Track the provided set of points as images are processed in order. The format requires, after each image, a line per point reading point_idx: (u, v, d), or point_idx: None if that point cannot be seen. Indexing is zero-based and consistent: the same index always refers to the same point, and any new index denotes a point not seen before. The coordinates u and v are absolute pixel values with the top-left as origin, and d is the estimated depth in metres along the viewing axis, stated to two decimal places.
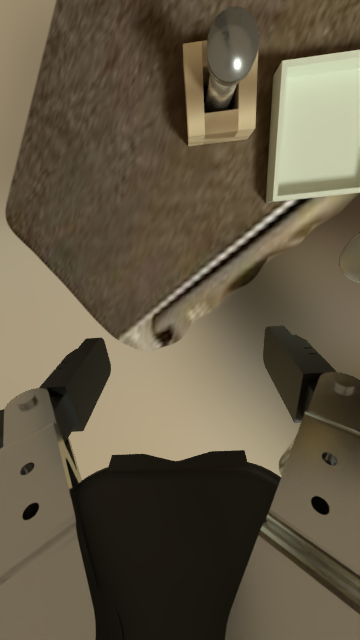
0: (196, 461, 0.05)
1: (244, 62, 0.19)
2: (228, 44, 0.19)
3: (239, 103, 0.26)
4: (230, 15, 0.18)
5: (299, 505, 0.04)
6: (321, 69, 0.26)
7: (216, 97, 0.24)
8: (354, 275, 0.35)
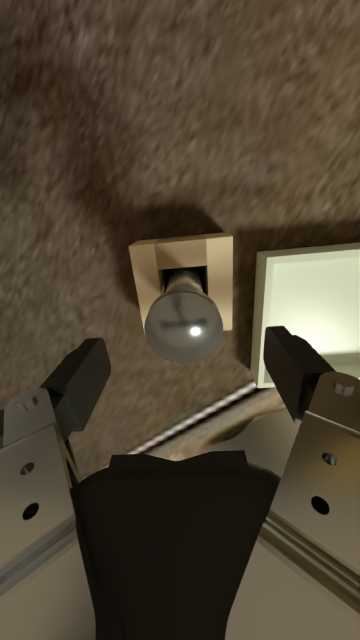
0: (196, 461, 0.05)
1: (202, 347, 0.13)
2: (177, 330, 0.12)
3: None
4: (177, 302, 0.12)
5: (299, 505, 0.04)
6: None
7: None
8: None
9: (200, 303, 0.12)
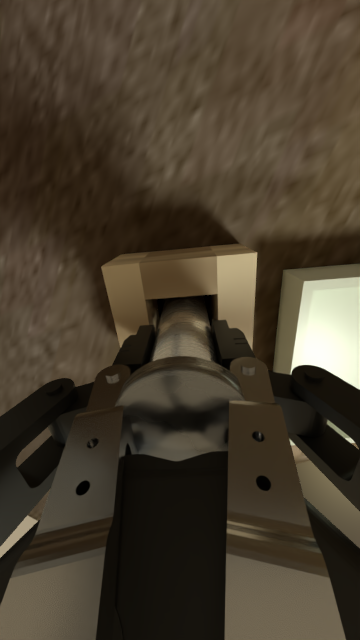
0: (196, 461, 0.05)
1: None
2: (170, 435, 0.07)
3: None
4: (169, 392, 0.06)
5: (299, 505, 0.04)
6: None
7: None
8: None
9: (215, 394, 0.06)
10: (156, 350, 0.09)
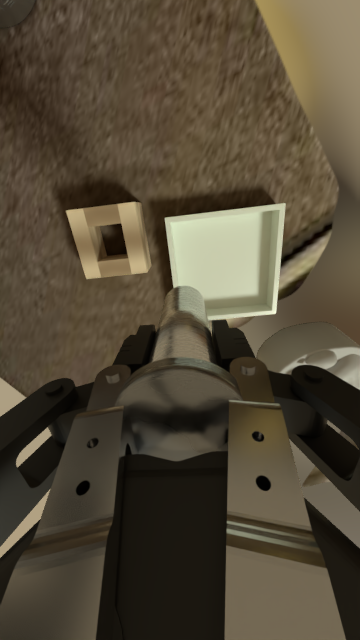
0: (196, 461, 0.05)
1: None
2: (169, 436, 0.07)
3: (128, 254, 0.27)
4: (168, 393, 0.06)
5: (299, 505, 0.04)
6: None
7: None
8: None
9: (214, 395, 0.06)
10: (155, 351, 0.09)
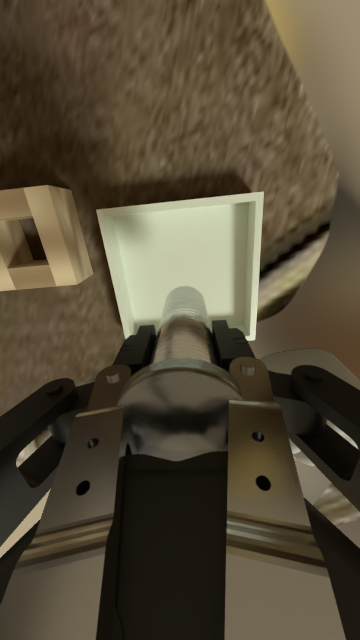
0: (196, 461, 0.05)
1: None
2: (170, 437, 0.07)
3: (48, 259, 0.20)
4: (169, 394, 0.06)
5: (299, 505, 0.04)
6: (158, 211, 0.20)
7: None
8: None
9: (215, 396, 0.06)
10: (156, 352, 0.09)
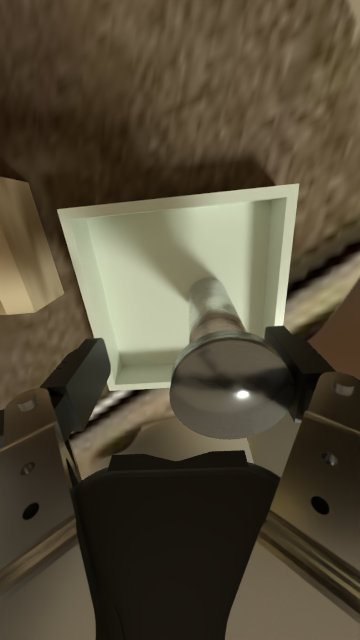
0: (196, 461, 0.05)
1: (257, 419, 0.08)
2: (220, 396, 0.08)
3: None
4: (225, 357, 0.07)
5: (299, 505, 0.04)
6: None
7: None
8: None
9: (263, 359, 0.07)
10: (197, 331, 0.10)
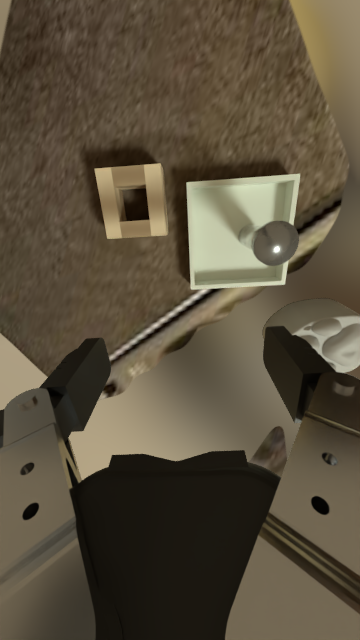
0: (196, 461, 0.05)
1: (284, 255, 0.23)
2: (272, 243, 0.23)
3: (150, 215, 0.29)
4: (276, 226, 0.22)
5: (299, 505, 0.04)
6: (225, 186, 0.29)
7: None
8: None
9: (288, 227, 0.22)
10: None
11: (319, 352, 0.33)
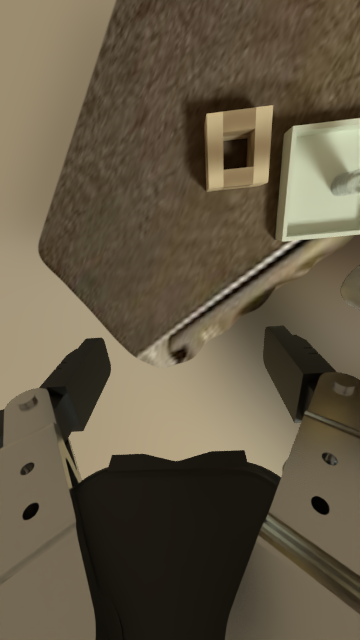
0: (196, 461, 0.05)
1: None
2: None
3: (254, 162, 0.29)
4: None
5: (299, 505, 0.04)
6: (327, 131, 0.30)
7: None
8: (354, 304, 0.38)
9: None
10: None
11: None
